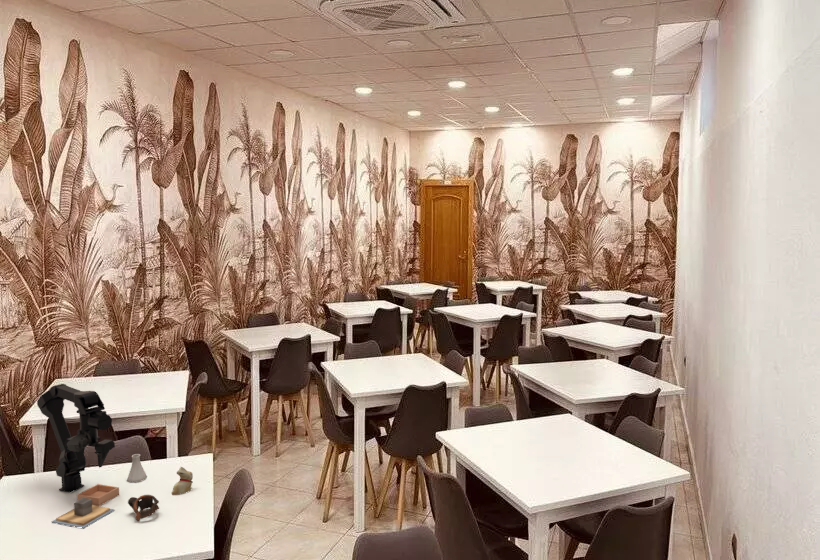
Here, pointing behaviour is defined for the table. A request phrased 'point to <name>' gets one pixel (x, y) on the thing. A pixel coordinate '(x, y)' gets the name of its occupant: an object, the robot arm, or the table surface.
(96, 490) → the terracotta dish
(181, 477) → the chocolate bunny
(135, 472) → the flask
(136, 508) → the brown curved piece
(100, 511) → the wooden lid
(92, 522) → the slate mat
